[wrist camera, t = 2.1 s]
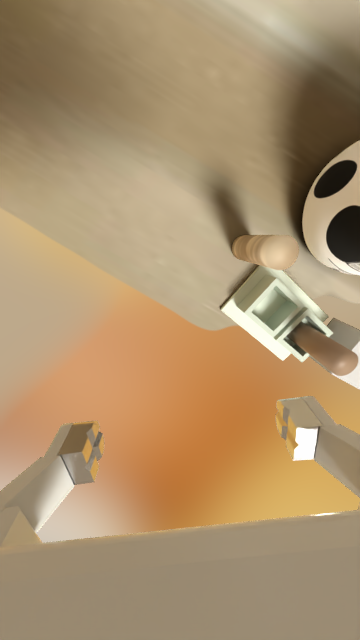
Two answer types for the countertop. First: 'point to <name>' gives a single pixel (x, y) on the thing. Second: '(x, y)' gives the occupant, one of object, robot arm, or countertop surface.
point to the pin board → (287, 320)
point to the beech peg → (266, 250)
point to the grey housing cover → (350, 339)
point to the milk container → (335, 213)
